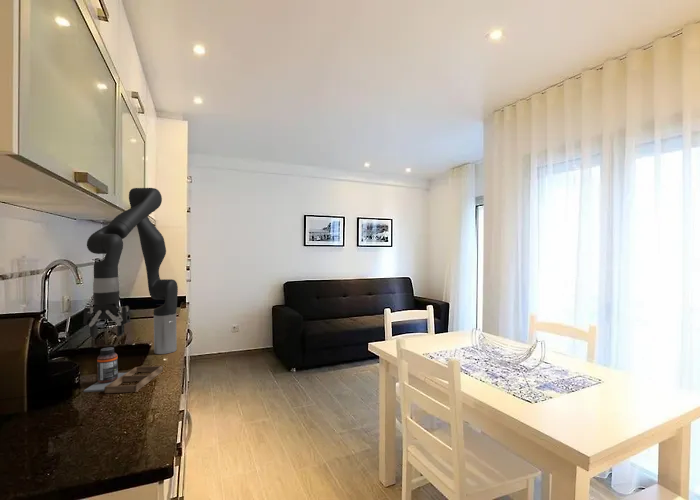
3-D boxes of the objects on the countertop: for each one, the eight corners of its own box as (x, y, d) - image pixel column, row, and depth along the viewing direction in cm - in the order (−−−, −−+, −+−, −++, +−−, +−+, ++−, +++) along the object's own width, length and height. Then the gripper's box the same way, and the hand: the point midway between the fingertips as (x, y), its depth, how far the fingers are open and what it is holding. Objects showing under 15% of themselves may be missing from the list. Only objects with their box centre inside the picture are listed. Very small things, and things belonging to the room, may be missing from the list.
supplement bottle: (99, 379, 124) (99, 347, 125) (119, 376, 127) (118, 345, 127) (95, 384, 119) (95, 351, 119) (116, 382, 122) (116, 349, 122)
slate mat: (112, 374, 131) (112, 373, 131) (129, 374, 131) (129, 372, 131) (83, 392, 115) (83, 390, 115) (103, 391, 115) (103, 389, 115)
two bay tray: (136, 372, 133) (135, 366, 133) (162, 371, 134) (162, 365, 134) (104, 393, 114) (104, 387, 114) (136, 391, 114) (136, 385, 114)
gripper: (133, 288, 127) (134, 332, 127) (91, 289, 126) (92, 334, 126) (121, 291, 120) (122, 338, 120) (77, 292, 118) (78, 339, 119)
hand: (107, 336), depth 123 cm, fingers open, 8 cm apart
